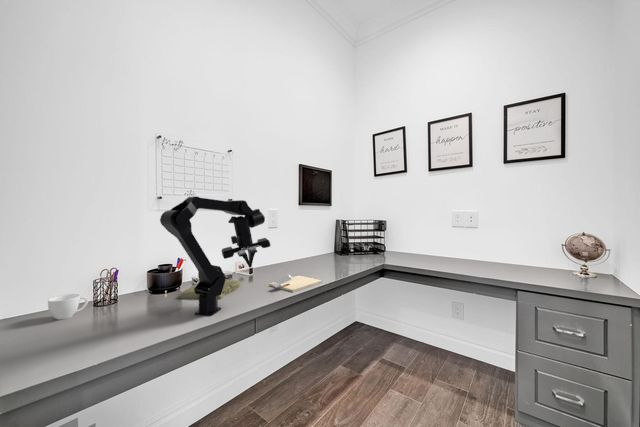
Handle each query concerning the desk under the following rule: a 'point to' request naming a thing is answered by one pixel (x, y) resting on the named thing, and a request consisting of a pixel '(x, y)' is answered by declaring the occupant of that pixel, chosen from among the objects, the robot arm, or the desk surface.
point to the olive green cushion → (227, 288)
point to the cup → (65, 305)
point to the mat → (299, 283)
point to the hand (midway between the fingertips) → (250, 267)
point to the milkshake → (283, 281)
